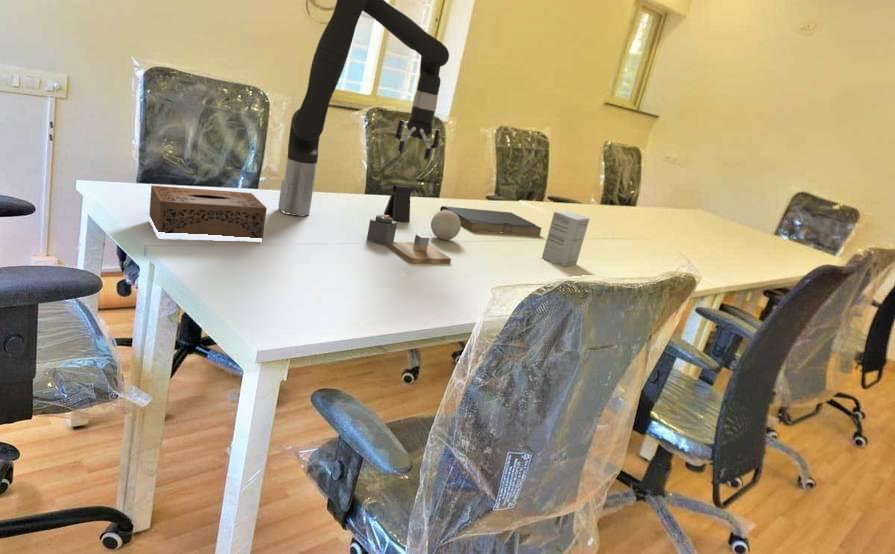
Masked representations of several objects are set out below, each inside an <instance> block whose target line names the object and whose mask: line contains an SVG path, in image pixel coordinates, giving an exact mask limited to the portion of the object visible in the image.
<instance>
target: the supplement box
mask: <svg viewBox="0 0 895 554" xmlns="http://www.w3.org/2000/svg"><path fill="white" fill-rule="evenodd" d="M551 219H552V220H551V222H550V227H549V230H548V233H547V236H546V237H547V238H546V241H545V244H544V247H543V252H542V255H541V256H542V257H541V258H542V259H544V260H546V261H547V262H550V263H553V264H556V265H557V266H560V267H563V268H564V267H565V268H566V267H569V266H574V265H577V263H578V259H579V256H580V253H581V249H582V247H583V246H582V245H583V243H584V239H585V237H586V232H587V230H588V225H589V223H590V218H589V217H588V216H587V217H586V216H584V215H581V214H578V213H575V212H573V211H570V210H562V211H561V210H559V211H553V215H552V218H551Z"/></svg>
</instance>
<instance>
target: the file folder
mask: <svg viewBox="0 0 895 554" xmlns="http://www.w3.org/2000/svg"><path fill="white" fill-rule="evenodd" d="M442 210H450V211H452V212H454V213H455V214H457V216H458V217H459V219H460V222H461V225H462V226H461V227H463V228H465V229H467V231H469V230H470V232H477V231H482V232H481V233H491V232H503V233H502V234H508V233H510V235H512V234H511V233H515V234H514V235H526V234H529V235H528V236H537V235H539V236H540V235H541V232H542V227H540V226H539V225H536V224H535V223H533V222H531V221H529V220H527V219H526V218H523V217H521V216H519V215H517V214H515V213H514V212H510V211H497V210H487V209H478V208H476V209H475V208H466V207H454V206H447V205H446V206H445V205H444V206H443V205H442V206H441V207H440V209H439V211H442ZM483 231H484V232H483Z"/></svg>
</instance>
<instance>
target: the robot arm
mask: <svg viewBox="0 0 895 554" xmlns="http://www.w3.org/2000/svg"><path fill="white" fill-rule="evenodd" d="M362 12H364V13H365V14H366V15H368V16H370V17H371V18H372V19H374V20H375V21H376V22H377V23H379V24H380V25H381V26H382V27H384V29H386V30H387V31H388V32H390V34H392V35H393V36H394V37H395V38H396V39H397V40H399V42H401V43H402V44H404V45H405V46H406V47H408V48H409V49H411V50H413V51H415V52H416V53H417V54H419V55H420V63H419V64H420V66H419V78H418V82H417V86H416V90H415V95H414V99H413V103H412V107H411V112H410V116H409V121H405V120H404V119H400V120H399V122H398V126H397V129H396V133H395V135H394V136H395V138H396V139H397V140H399V145H398V151H399V153H400V154H403V153H404V152H405V148H406V141H407V139H409V138H410V137H412V138H417V139H418V140H419V139H420V140H423V142H424V144H425V145H426V147H427V148H425V153H424V158H423V160H425V161H427V160H428V159H430V157H431V153H432V149H438V147H439V143H440V138H441V132H442V131H441V129H436V128H433V123H434V118H435V113H436V110H437V104H438V96H439V91H440V88H441V87H440V86H441V81H442V80H441V77H440V72H441V71H440V70H441V68H442V67H444V66H445V65H446V64H447V63H448V62H449V58H450V52H449V49H448V48H447V46H446V45H445V44H443V43H442V42H441V41H440V40H438V39H437V38H436V37H434V36H432V35H431V34H430V33H428V32H426V31H425V30H424V29H423V28H422V27H421V26H420V25H419V24H417V22H415V21H414V20H413V19H412V18H410V17H409V16H408V15H407V14H405V13H404V12H403V11H400V10H399V9H398V8H396V7H395V6H393V5H392V4H390V3H389V2H387V1H386V0H336V2H335V7H334V10H333V12H332V15H331V17H330V19H329V21H328V23H327V24H326V27H325V28H324V31H323V32H322V34H321V36H320V38H319V41H318V43H317V46H316V48H315V52H314V54H313V58H312V63H311V66H310V70H309V71H310V72H309V77H308V83H307V84H308V85H307V89H306V93H305V96H304V98H303V100H302V103H301V105H300V108H298V109H297V110H296V111H294V113H293V115H292V117H291V121H290V122H291V123H290V129H289V137H288V144H287V145H288V146H287V147H288V148H287V155H286V157H287V158H286V165H285V171H284V180H283V179H282V180H281V186H280V192H279V198H278V199H279V200H278V207H279V208H280V209H281V210H282V211H284V212H285V213H290V214H295V215H304V216H303V217H306V216H305V215H308V216H309V215H310V212H311V205H312V199H313V198H312V197H313V194H314V193H313V192H314V185H315V179H316V172H317V165H318V161H319V160H318V158H319V144H320V137H321V135H322V132H323V131H324V127H325V123H326V117H327V113H328V110H329V106H330V102H331V99H332V97H333V94H334V93H335V91H336V88H337V85H338V83H339V81H340V78H341V76H342V73H343V71H344V68H345V66H346V63H347V60H348V56H349V53H350V49H351V45H352V42H353V40H354V39H353V38H354V35H355V31H356V28H357V25H358V22H359V19H360V16H361V15H362ZM406 127H407V130H408V131H407V132H406V133H404V135H403V136H402V133H403V130H404V128H406ZM431 133H432V135H433V137H434V139H433V143H432V141H431V138H430V136H429V135H430V134H431Z"/></svg>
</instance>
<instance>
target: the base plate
mask: <svg viewBox="0 0 895 554" xmlns="http://www.w3.org/2000/svg"><path fill="white" fill-rule="evenodd" d="M413 246H414V242H410V241H409V242H407V241H406V242H405V241H404V242H403V241H394V242H388V244H387V247H388V248H389V249H390V248H391V249H390V250H392V251H393V252H394V251H395V253H396V254H397V255H399V257H401V258H403V259H404V260H405V261H406V262H408V263H410V264H451V262H452V258H451V257H450V256H448V255H446V254H445V253H443V252H442V251H440V250H439V249H438V248H436V247H434V246H433V245H431V244H430V243H428V247H427V252H417V251H416V250H415V249H413Z"/></svg>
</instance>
